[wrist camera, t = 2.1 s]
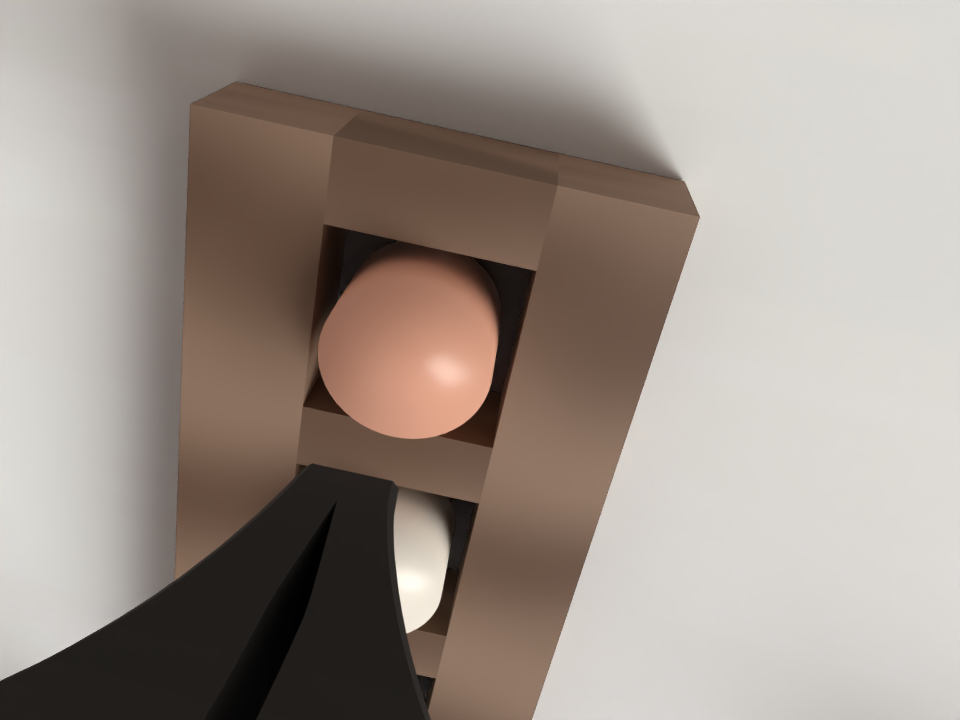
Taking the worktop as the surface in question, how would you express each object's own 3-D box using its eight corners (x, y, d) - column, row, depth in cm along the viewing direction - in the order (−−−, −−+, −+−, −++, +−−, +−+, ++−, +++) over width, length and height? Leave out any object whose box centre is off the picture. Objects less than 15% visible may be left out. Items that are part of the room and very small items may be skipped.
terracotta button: (484, 396, 20) (474, 454, 18) (337, 364, 20) (309, 418, 18) (516, 258, 19) (509, 304, 16) (356, 222, 19) (327, 264, 16)
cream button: (441, 581, 23) (428, 651, 21) (312, 553, 23) (285, 620, 21) (466, 476, 21) (454, 540, 19) (327, 446, 21) (299, 506, 19)
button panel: (497, 765, 28) (492, 838, 26) (200, 701, 28) (168, 768, 26) (684, 181, 18) (700, 216, 16) (236, 82, 18) (190, 103, 16)
